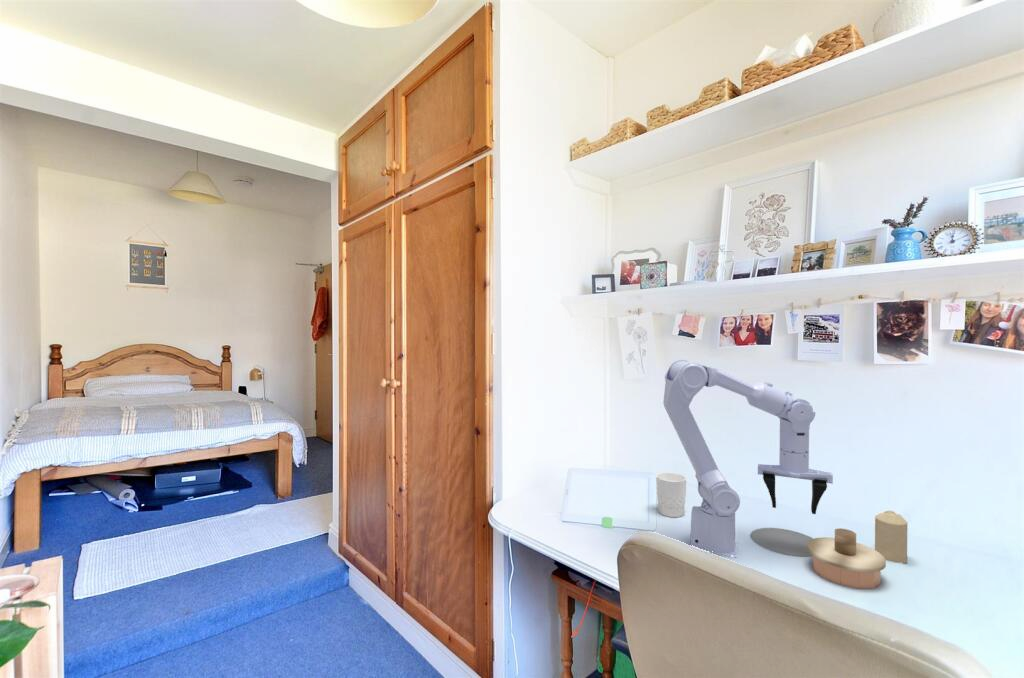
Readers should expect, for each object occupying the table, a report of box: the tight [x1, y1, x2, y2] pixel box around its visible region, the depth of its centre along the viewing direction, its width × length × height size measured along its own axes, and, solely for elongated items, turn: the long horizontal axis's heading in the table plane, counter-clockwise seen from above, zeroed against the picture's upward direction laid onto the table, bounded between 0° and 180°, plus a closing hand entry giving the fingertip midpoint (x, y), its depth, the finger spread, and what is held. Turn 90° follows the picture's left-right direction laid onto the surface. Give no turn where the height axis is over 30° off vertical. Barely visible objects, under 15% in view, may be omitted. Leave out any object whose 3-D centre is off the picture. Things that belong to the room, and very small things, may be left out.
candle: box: [874, 510, 908, 565], centre depth 103 cm, size 6×6×10 cm
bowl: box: [812, 556, 881, 589], centre depth 96 cm, size 11×11×4 cm
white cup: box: [655, 471, 687, 518], centre depth 129 cm, size 8×8×10 cm
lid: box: [808, 528, 887, 572], centre depth 96 cm, size 13×13×5 cm
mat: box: [749, 527, 814, 558], centre depth 110 cm, size 15×15×1 cm
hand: (793, 509), depth 107 cm, fingers open, 7 cm apart
